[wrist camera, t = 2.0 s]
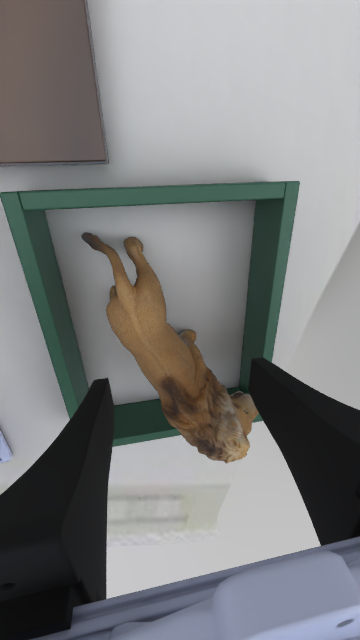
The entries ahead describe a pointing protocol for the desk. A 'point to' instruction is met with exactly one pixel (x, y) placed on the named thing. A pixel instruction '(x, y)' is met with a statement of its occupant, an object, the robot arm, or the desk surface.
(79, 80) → the stand
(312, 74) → the desk surface
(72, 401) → the storage box
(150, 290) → the lion figurine
